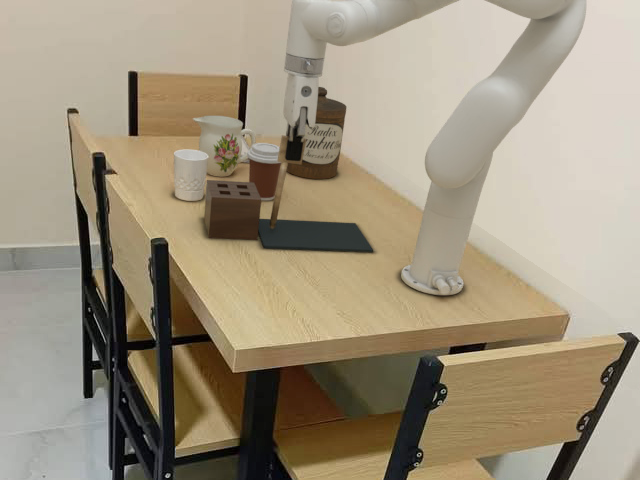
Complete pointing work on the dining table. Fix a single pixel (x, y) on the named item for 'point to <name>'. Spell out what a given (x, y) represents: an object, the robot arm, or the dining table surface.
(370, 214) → the dining table surface
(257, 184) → the coffee cup
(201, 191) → the white cup
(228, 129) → the pitcher
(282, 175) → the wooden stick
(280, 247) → the mat
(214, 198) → the utensil block
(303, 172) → the wooden container
